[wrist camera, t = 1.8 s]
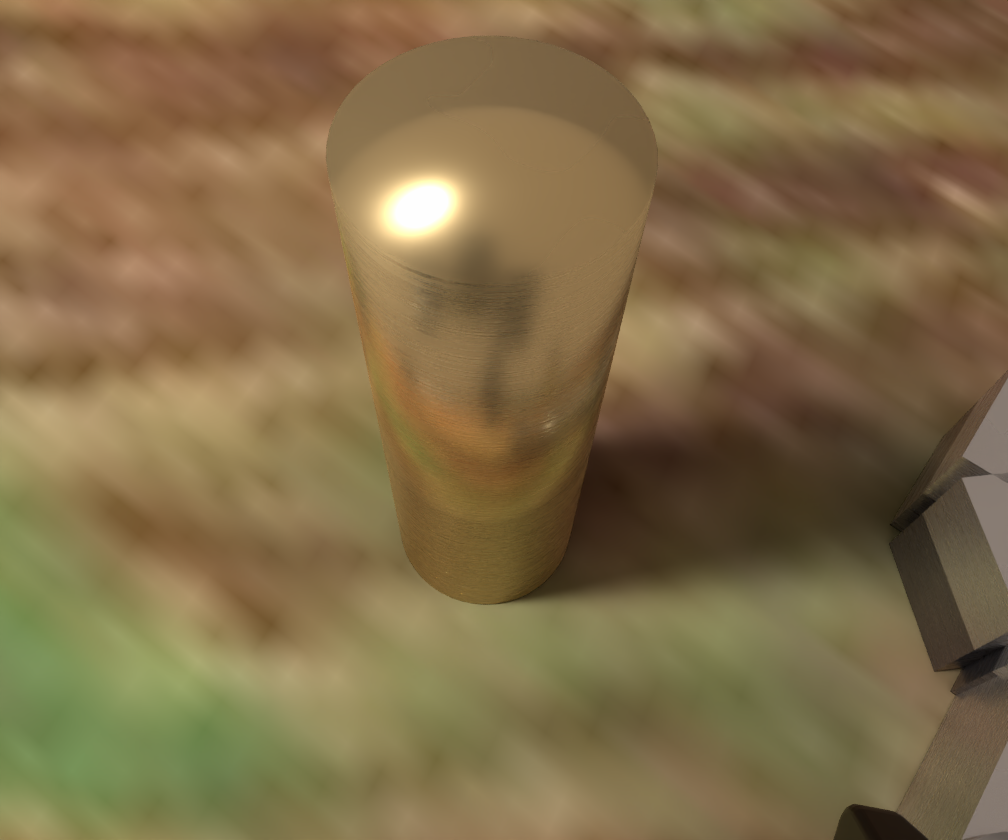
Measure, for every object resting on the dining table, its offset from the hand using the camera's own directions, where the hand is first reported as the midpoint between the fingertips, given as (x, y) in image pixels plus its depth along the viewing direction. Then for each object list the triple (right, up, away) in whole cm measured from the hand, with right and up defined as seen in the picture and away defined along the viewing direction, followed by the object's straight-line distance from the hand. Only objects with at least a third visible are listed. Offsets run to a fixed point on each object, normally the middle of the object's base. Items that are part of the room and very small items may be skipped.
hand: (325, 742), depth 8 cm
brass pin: (+1, 0, +15) cm, 15 cm away
